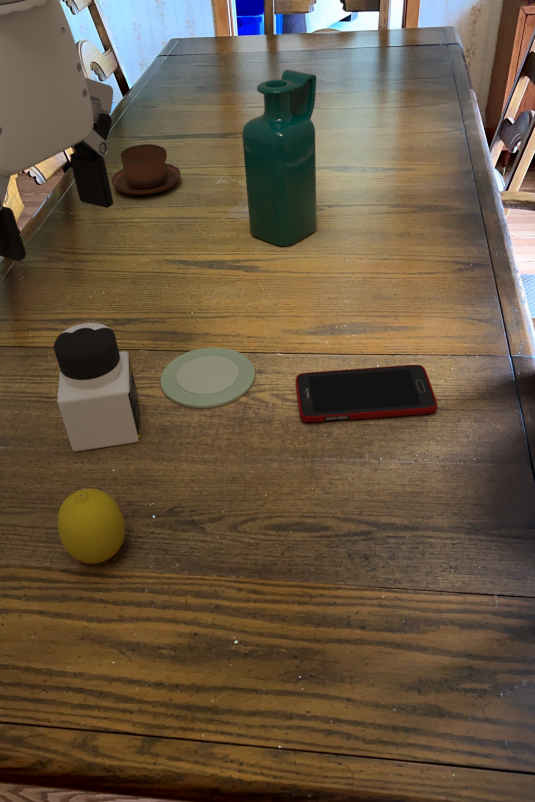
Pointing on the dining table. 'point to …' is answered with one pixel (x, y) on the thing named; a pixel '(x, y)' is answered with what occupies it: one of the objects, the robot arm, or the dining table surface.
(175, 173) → the cup and saucer
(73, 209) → the dining table surface
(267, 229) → the pitcher
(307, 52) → the dining table surface
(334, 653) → the dining table surface
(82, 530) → the lemon
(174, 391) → the saucer
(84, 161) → the robot arm
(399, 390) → the cell phone
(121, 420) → the medicine bottle
